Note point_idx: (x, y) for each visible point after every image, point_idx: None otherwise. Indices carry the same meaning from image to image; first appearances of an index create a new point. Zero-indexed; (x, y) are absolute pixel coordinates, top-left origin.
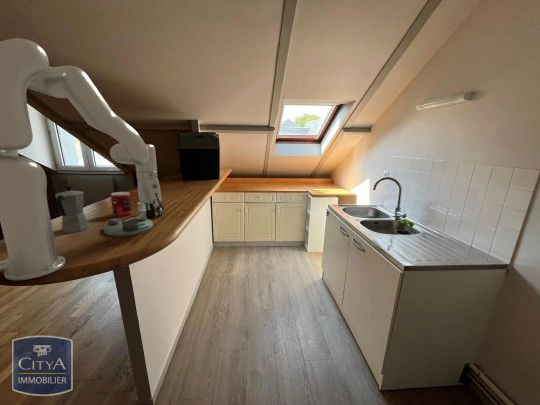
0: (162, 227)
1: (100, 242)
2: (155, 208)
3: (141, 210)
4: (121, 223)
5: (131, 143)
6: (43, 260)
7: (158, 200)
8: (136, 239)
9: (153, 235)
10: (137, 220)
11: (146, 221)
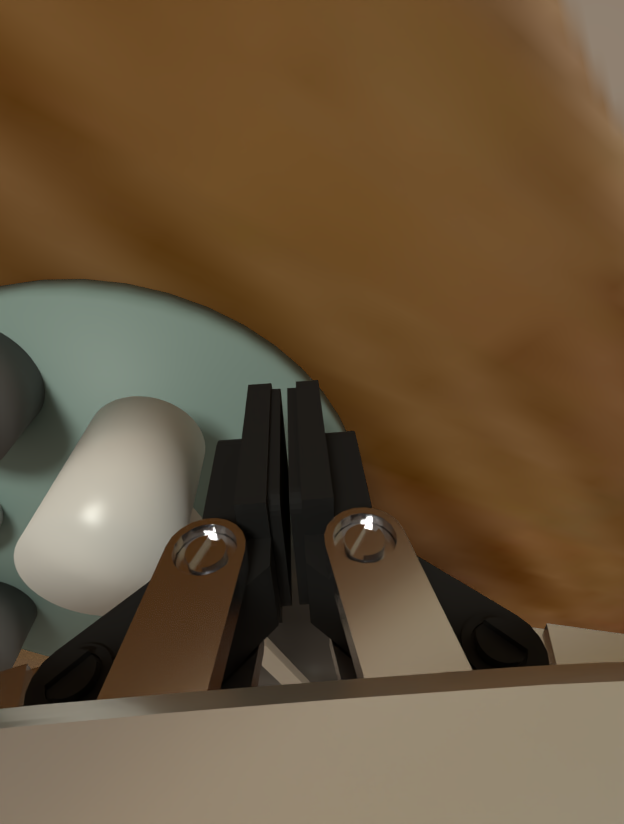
0: (369, 249)
1: None
2: (402, 530)
3: (113, 607)
4: (1, 562)
5: None
6: None
7: (619, 756)
8: (466, 552)
9: (517, 442)
10: None
11: (79, 363)
